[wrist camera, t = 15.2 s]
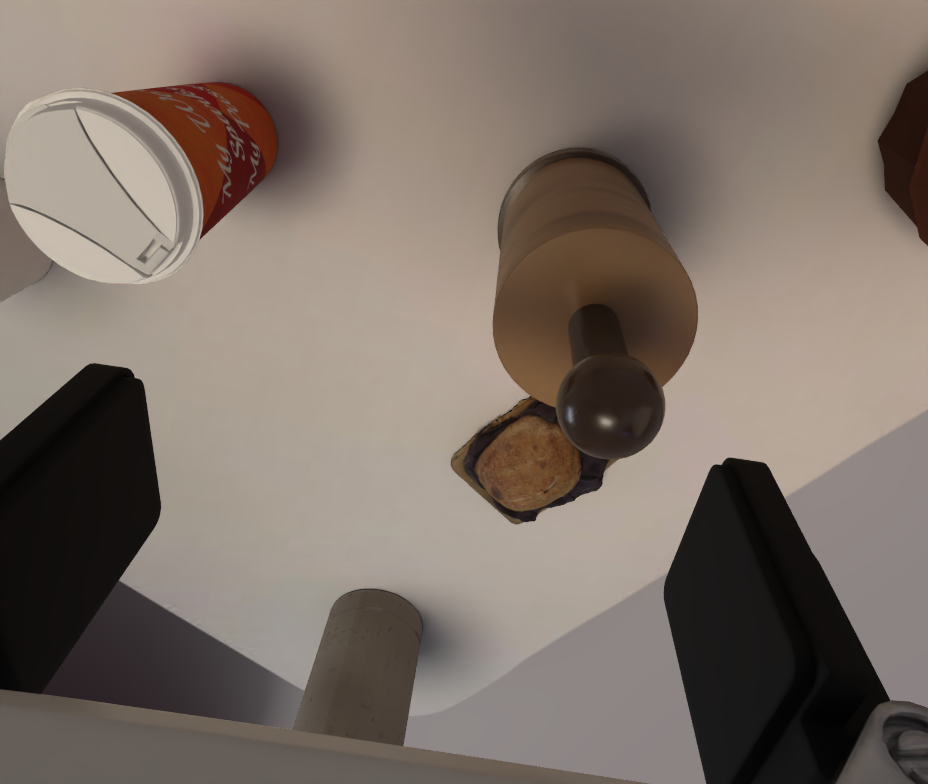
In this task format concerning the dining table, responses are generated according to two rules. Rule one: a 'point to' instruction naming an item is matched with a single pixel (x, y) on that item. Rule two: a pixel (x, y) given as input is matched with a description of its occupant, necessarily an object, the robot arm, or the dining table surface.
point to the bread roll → (527, 463)
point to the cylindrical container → (17, 252)
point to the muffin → (909, 154)
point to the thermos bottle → (363, 670)
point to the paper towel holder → (591, 300)
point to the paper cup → (134, 174)
